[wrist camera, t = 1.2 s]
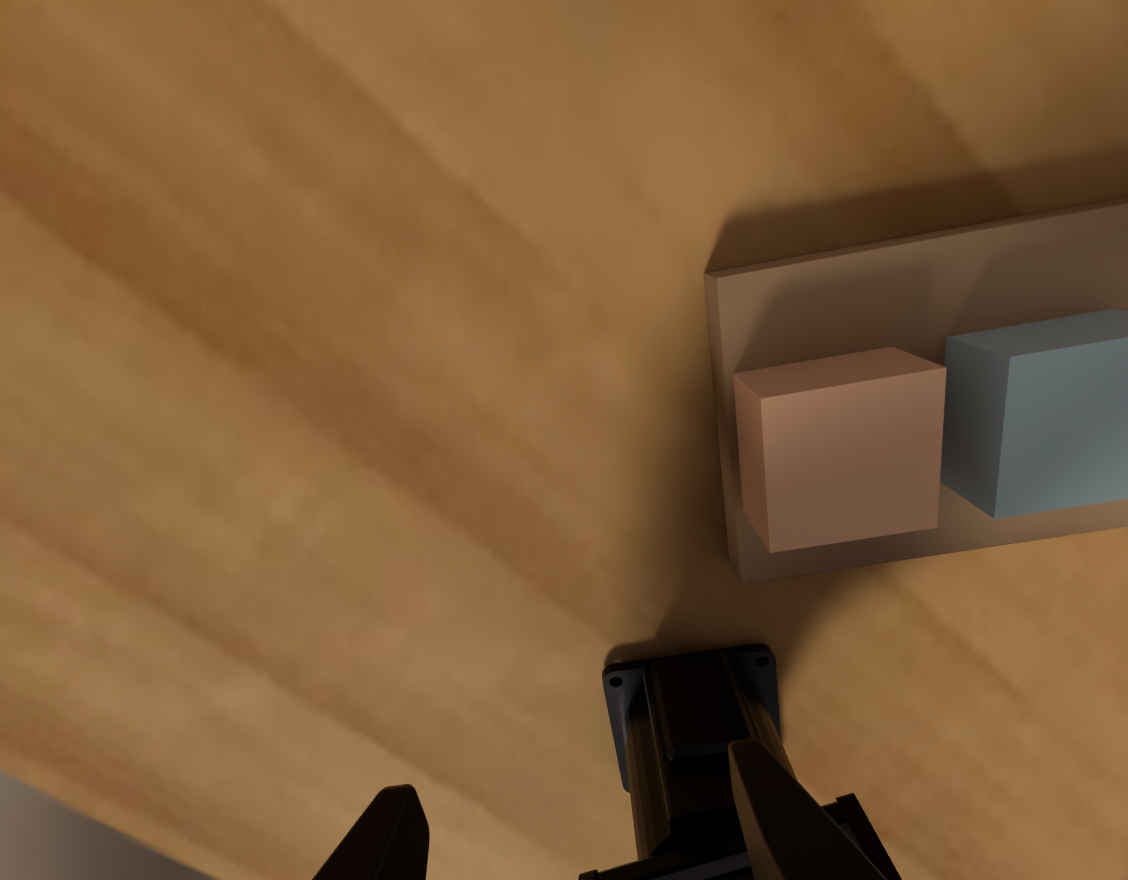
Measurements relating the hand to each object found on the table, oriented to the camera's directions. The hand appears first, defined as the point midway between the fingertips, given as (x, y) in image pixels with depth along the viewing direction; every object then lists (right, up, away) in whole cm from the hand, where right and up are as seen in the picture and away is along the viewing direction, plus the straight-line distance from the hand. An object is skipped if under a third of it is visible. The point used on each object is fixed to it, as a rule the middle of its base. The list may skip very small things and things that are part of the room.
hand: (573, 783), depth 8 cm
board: (+12, +6, +11) cm, 17 cm away
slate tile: (+13, +6, +9) cm, 17 cm away
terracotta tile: (+7, +5, +9) cm, 13 cm away
